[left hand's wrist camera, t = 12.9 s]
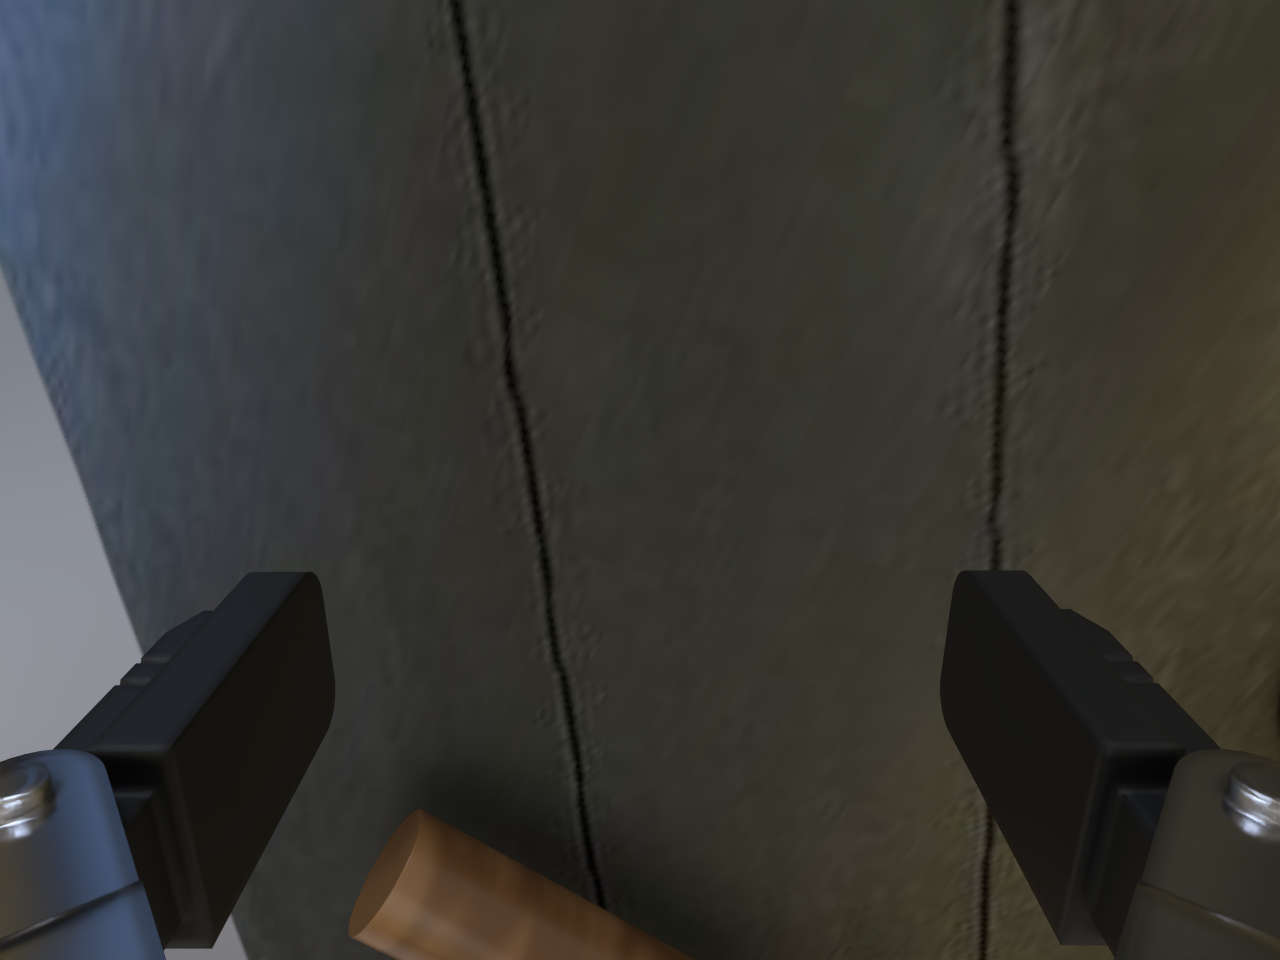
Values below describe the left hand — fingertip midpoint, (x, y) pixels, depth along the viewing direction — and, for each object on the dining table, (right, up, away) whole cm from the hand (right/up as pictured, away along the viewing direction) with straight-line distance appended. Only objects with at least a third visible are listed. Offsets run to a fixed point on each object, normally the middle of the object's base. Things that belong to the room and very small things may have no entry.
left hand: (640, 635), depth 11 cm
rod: (-2, -22, +36) cm, 42 cm away
